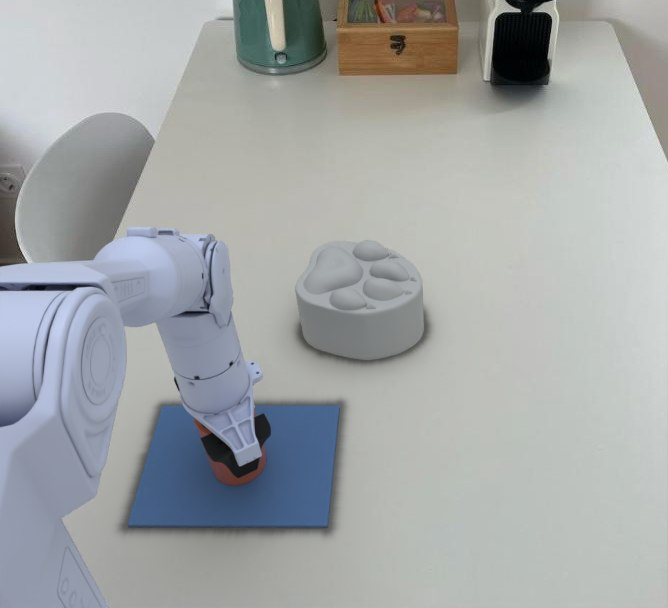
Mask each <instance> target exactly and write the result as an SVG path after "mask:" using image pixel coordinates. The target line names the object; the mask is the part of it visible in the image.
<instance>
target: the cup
mask: <svg viewBox="0 0 668 608" xmlns="http://www.w3.org/2000/svg"><path fill="white" fill-rule="evenodd" d="M255 406H256V405H255V404H254V417H256V416H257V412H256V409H255ZM194 424H195V426H196V429H197V432H198V435H199V438H200V441H201V438H202V437H204V436H206V435H208V434H211V433H212V432H211V431H210V430H209V429H207V428H206V427H205V426H204V425H203V424H201V423H200V422H199V421H198V420H196V419H195V418H194ZM201 443H202V441H201ZM202 446H203V444H202ZM203 449H204V452H205V455H206V457H207V460H208V463H209V466H210V469H211V470H212V473H213V475H214V476H215V478H216V479H217V480H219V481H220V482H222V483H224V484H227V485H233V486H236V485H243V484H246V483H248V482H250V481H252V480H254V479H255V478H257V477H258V476H259V475H260V474H261V472H262V471H263V469H264V468H265V465H266V462H267V452H266V447H265V443H264V444H263V446H262V448H261V453H262V456H261V457H260V459H259V465H258V469H257V470H255V471H253V472H251V473H249V474H246V475H244V476H242V477H240V478H237V477H235V476H234V475H233V474H232V473H231V471H230V470H229V469H228V467H227V466H226V465H225V464H223V463H220V462H214V461H213V460H212V459H211V458H210V457H209V456H208V454H207V452H206V450H205V448H204V446H203Z"/></svg>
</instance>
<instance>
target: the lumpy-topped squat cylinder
mask: <svg viewBox="0 0 668 608" xmlns="http://www.w3.org/2000/svg"><path fill="white" fill-rule="evenodd" d="M294 292H295V296H296V303H297V309H298V314H299V319H300V324H301V330H302V336H303V338H304V340H305V342H306V343H307V344H308V345H309V346H311V347H313V348H314V349H316V350H318V351H322V352H324V353H328V354H332V355H336V356H338V357H344V358H348V359H354V360H362V361H373V360H379V359H384V358H388V357H393V356H396V355H400V354H401V353H404V352H406V351H407V350H409V349H411V348H413V347H414V346H415V345H416V344H417V343H419V341H420V340H421V339H422V338H423V335H424V331H425V317H424V316H425V313H424V285H423V279H422V276H421V274H420V272H419V270H418V269H417V267H416V266H415V265H414V264H413V263H412V262H411V261H410V260H409V259H407V258H406V257H405V256H404V255H402V254H400V253H399V252H397V251H396V250H393V249H391V248H387V247H385V246H384V245H383V244H381V243H380V242H378V241H376V240H372V239H366V240H362V241H360V242H356V241H346V240H332V241H328V242H326V243H324V244H321V245H320V246H318V247H316V248H315V249H314V250H313V252H312V253H311V256H310V259H309V262H308V265H307V267H306V269H305V270H304V272H303V273H302V274H301V275H300V276H299V278H298V279H297V280H296V282H295V285H294Z"/></svg>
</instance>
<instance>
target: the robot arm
mask: <svg viewBox="0 0 668 608" xmlns="http://www.w3.org/2000/svg"><path fill="white" fill-rule="evenodd" d="M230 257H231V256H230V251H229V246H228V244H226V242H225V241H224V240H217V239H216V236H215V235H214V234H213V233H180V230H179V229H178V228H175V227H173V228H172V227H171V228H170V227H169V228H168V227H165V228H158V229H157V228H156V226H129V227H127V228H126V236H124V237H123V236H122V237H119V238H117V239H114V240H112V241H109V242H108V243H107V244H105V245H104V246H103V247H102V248H101V249H100V250H99V251H98V252H97V253H96V255H95V257H94V258H93V259H92V260H72V261H71V260H69V261H68V260H67V261H49V262H47V261H46V262H26V263H16V264H10V265H2V266H0V608H110V606H109V604H108V602H107V601H106V599H105V597H104V595H103V594H102V591H101V590H100V588H99V586H98V584H97V582H96V580H95V579H94V577H93V575H92V574H91V571H90V569H89V568H88V566H87V564H86V561H85V560H84V558H83V556H82V555H81V553H80V551H79V549H78V547H77V545H76V543H75V541H74V540H73V538H72V536H71V534H70V532H69V530H68V529H67V527H66V525H65V523H64V521H63V520H62V519H63V518H65V517H66V516H68V515H70V514H71V513H73V512H74V511H76V510H78V509H79V508H81V507H83V505H86V504H87V503H89V502H90V501H92V500H94V499H95V498H96V496H97V494H98V490H99V486H100V481H101V477H102V471H103V470H104V468H105V466H106V463H107V459H108V454H109V451H110V446H111V440H112V434H113V430H114V426H115V420H116V415H117V410H118V405H119V400H120V397H121V395H122V392H123V388H124V383H125V379H126V373H127V362H128V361H127V360H128V345H127V344H128V343H127V335H126V329H125V328H140V327H141V328H142V327H146V326H149V325H152V324H154V323H155V325H156V328H157V331H158V333H159V337H160V339H161V343H162V344H163V347H164V350H165V353H166V355H167V358H168V362H169V363H170V366H171V370H172V372H173V375H174V376H173V382H174V384H175V386H176V389H177V391H178V393H179V398H180V402H181V404H182V406H183V407H184V408H185V410H186V411H187V412H188V413H189V414H190V415H192V416H193V417H194V418H195V419H196V420H198V421H199V422H200V423H201V424H203V425H204V426H205V427H206V428H207V429H209V430H210V431H211V432H212V433H211V434H208V435H206V436H204V437H202V438H201V441H202V444H203V446H204V448H205V450H206V452H207V454H208V456H209V457H210V458H211V459H212V460H213V461H214V462H220V463H223V464H225V465H226V466H227V467H228V469H229V470H230V471H231V473H232V474H233V475H234V476H235V477H237V478H240V477H242V476H244V475H246V474H249V473H251V472H253V471H255V470H257V469H258V465H259V459H260V457H261V456H262V453H261V448H262V446H263V444H264V443H265V441H266V440H267V439H268V438H269V437H270V436H271V426H270V423H269V422H268V420H267V418H266V416H265V414H264V413H262V414H260V415H258V416H256V417H254V405H255V401H254V385H255V384H257V383H259V382H261V381H262V380H263V379H264V374H263V371H262V368H261V367H260V365H259V363H258V362H257V360H248V361H245V357H244V352H243V350H242V346H241V341H240V338H239V334H238V330H237V326H236V322H235V319H234V315H233V312H232V311H233V310H232V309H233V305H234V290H233V286H232V277H231V258H230Z"/></svg>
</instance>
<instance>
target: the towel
mask: <svg viewBox="0 0 668 608" xmlns="http://www.w3.org/2000/svg"><path fill="white" fill-rule="evenodd" d="M340 408H341V407H340V405H338V404H327V405H326V404H318V405H317V404H315V405H314V404H313V405H311V404H309V405H307V404H305V405H304V404H300V405H299V404H295V405H293V404H292V405H290V404H289V405H287V404H285V405H282V404H281V405H279V404H278V405H275V404H273V405H271V404H270V405H268V404H267V405H255V409H256V412H257V416H258V415H260V414H262V413H264V414H265V416H266V418H267V420H268V422H269V423H270V426H271V436H270V437H269V438H268V439H267V440H266V441H265V447H266V452H267V462H266V465H265V468H264V469H263V471H262V472H261V474H260V475H259V476H258V477H257V478H255V479H254V480H252V481H250V482H248V483H246V484H243V485H236V486H233V485H227V484H224V483H222V482H220V481H219V480H217V479H216V478H215V476H214V475H213V473H212V470H211V469H210V466H209V463H208V460H207V457H206V455H205V452H204V449H203V446H202V443H201V441H200V438H199V435H198V432H197V429H196V426H195V424H194V417H193V416H192V415H190V414H189V413H188V412H187V411H186V410H185V408H184V407H183V405H161V409H160V413H159V416H158V418H157V421H156V426H155V429H154V432H153V436H152V439H151V442H150V446H149V450H148V453H147V456H146V458H145V459H146V460H145V463H144V467H143V470H142V473H141V477H140V480H139V482H138V487H137V490H136V494H135V497H134V500H133V504H132V507H131V510H130V513H129V517H128V521H127V524H126V525H127V527H128V528H317V529H318V528H320V529H321V528H322V529H323V528H324V529H325V528H328V527H329V519H330V508H331V499H332V487H333V478H334V467H335V459H336V458H335V457H336V446H337V437H338V429H339V427H338V426H339V417H340Z"/></svg>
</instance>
